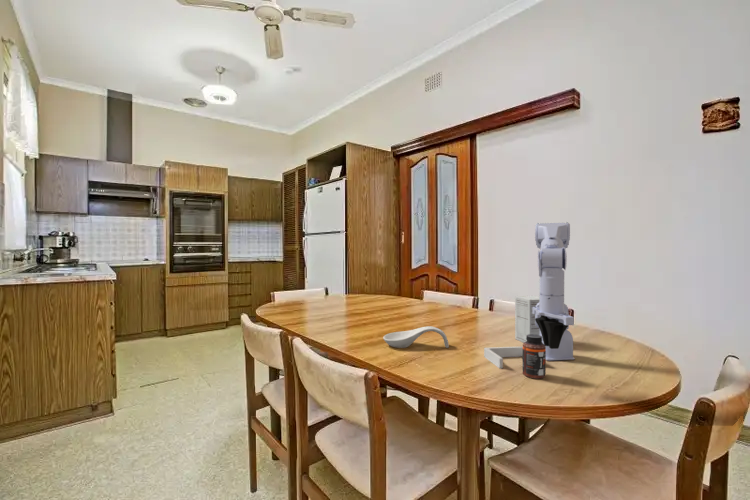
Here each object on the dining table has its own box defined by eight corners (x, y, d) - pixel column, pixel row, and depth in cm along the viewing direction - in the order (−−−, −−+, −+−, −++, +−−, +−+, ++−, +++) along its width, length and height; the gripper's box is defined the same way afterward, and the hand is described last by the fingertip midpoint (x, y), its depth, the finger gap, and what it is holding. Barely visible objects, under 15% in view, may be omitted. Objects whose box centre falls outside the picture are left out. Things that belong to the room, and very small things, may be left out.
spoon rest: (382, 350, 124) (382, 330, 123) (384, 341, 135) (384, 322, 135) (450, 351, 122) (450, 331, 122) (446, 342, 133) (446, 323, 133)
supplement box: (552, 344, 130) (552, 299, 130) (529, 345, 128) (530, 299, 128) (535, 337, 139) (535, 295, 139) (514, 339, 137) (514, 296, 137)
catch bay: (524, 355, 117) (524, 346, 117) (543, 366, 106) (543, 356, 106) (484, 356, 115) (484, 347, 115) (499, 368, 104) (499, 358, 104)
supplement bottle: (548, 380, 95) (548, 339, 95) (524, 378, 96) (525, 337, 96) (542, 372, 101) (542, 333, 101) (520, 371, 102) (520, 332, 102)
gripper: (522, 291, 97) (522, 339, 97) (554, 299, 83) (554, 356, 83) (546, 290, 98) (545, 339, 98) (582, 298, 84) (581, 355, 84)
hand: (551, 347), depth 91 cm, fingers closed
